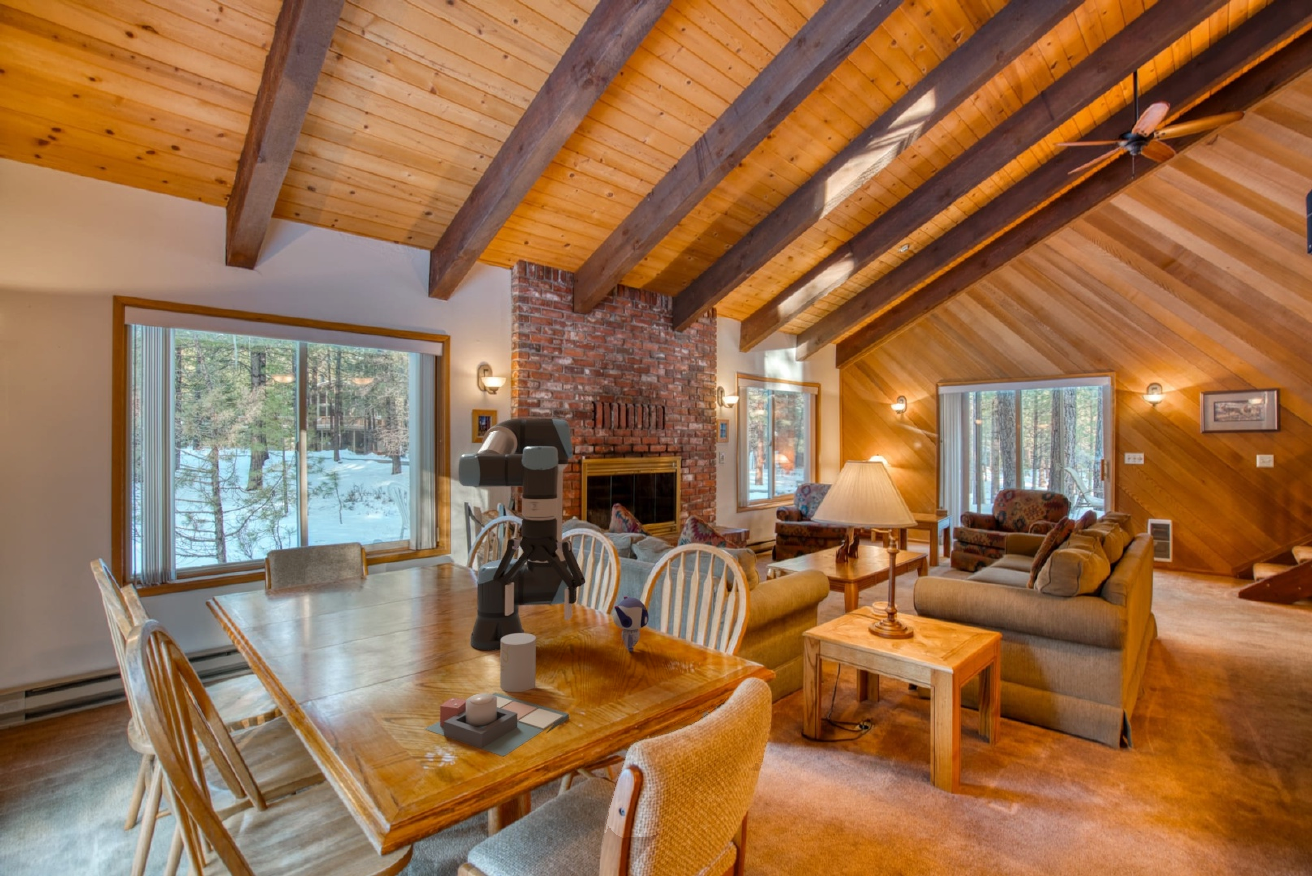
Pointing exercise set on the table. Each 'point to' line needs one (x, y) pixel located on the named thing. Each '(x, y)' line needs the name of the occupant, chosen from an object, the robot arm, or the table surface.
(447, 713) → the die
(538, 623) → the table surface
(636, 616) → the toy
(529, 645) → the white cylinder
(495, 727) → the board
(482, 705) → the dome
